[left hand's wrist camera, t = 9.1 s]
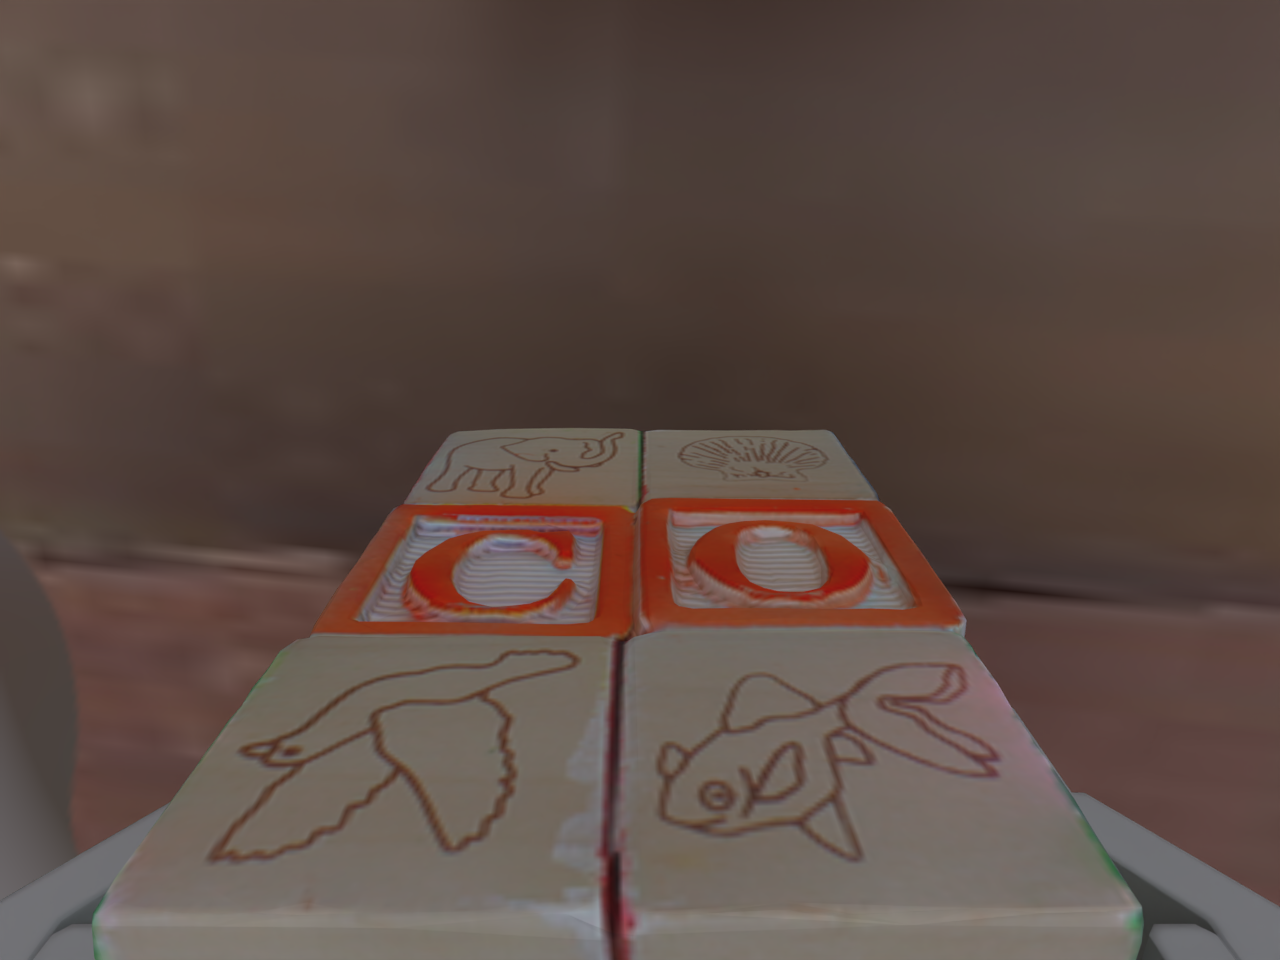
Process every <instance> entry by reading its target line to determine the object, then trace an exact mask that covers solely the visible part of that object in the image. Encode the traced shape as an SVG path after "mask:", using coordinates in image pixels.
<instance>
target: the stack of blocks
mask: <svg viewBox="0 0 1280 960" xmlns="http://www.w3.org/2000/svg"><path fill="white" fill-rule="evenodd" d="M966 621H967V620H966V619H965V617H964V615H963V613H962V612H961V610H960V608H959V606H958V604H957V603H956V602H955V600H954V599H953V597H952V596H951V594H950V593H949V592H948V590H947V589H946V587H945V586H944V585H943V583H942V582H941V580H940V579H939V577H938V576H937V575H936V573H935V572H934V570H933V569H932V567H931V566H930V564H929V563H928V561H927V560H926V558H925V557H924V555H923V554H922V552H921V551H920V550H919V548H918V547H917V546H916V544H915V543H914V542H913V540H912V539H911V538H910V536H909V535H908V533H907V532H906V531H905V529H904V528H903V527H902V525H901V524H900V522H899V521H898V520H897V518H896V517H895V515H894V514H893V512H892V511H891V509H889V508H888V507H887V506H885V505H884V504H883V503H881V502H880V501H879V498H878V495H877V493H876V492H875V490H874V489H873V487H872V486H871V484H870V483H869V482H868V480H867V479H866V478H865V477H864V475H863V474H862V473H861V471H860V470H859V468H858V466H857V465H856V463H855V462H854V461H853V460H852V458H851V457H850V456H849V455H848V454H847V452H846V451H845V449H844V448H843V446H842V445H841V443H840V442H839V440H838V439H837V437H836V436H835V435H834V433H832V432H830V431H827V430H796V431H787V430H653V431H646V432H642V431H638V430H634V429H613V428H535V429H493V430H477V431H460V432H456V433H453V434H450V435H449V436H448V437H447V439H446V440H445V441H444V443H443V444H442V445H441V446H440V448H439V449H438V450H437V452H436V453H435V455H434V456H433V457H432V459H431V460H430V461H429V463H428V464H427V465H426V467H425V468H424V470H423V472H422V474H421V476H420V477H419V479H418V481H417V482H416V484H415V485H414V486H413V487H412V490H411V492H410V494H409V495H408V497H407V498H406V500H405V501H404V504H402V505H400V506H398V507H396V508H394V509H393V510H392V511H391V512H390V514H389V515H388V516H387V518H386V519H385V521H384V522H383V524H382V526H381V527H380V529H379V531H378V532H377V534H376V535H375V536H374V537H373V539H372V540H371V541H370V543H369V544H368V546H367V548H366V549H365V551H364V552H363V554H362V555H361V557H360V558H359V560H358V562H357V563H356V564H355V566H354V567H353V568H352V570H351V571H350V572H349V574H348V575H347V576H346V578H345V579H344V580H343V582H342V583H341V584H340V586H339V587H338V588H337V590H336V592H335V593H334V595H333V596H332V598H331V600H330V601H329V603H328V604H327V606H326V607H325V609H324V611H323V612H322V614H321V615H320V617H319V619H318V620H317V622H316V623H315V625H314V627H313V630H312V632H311V635H310V637H309V638H304V639H298V640H296V641H294V642H293V643H291V644H290V645H288V646H287V647H286V648H284V649H283V650H281V651H280V652H279V653H278V655H277V656H276V658H275V659H274V661H273V662H272V664H271V665H270V667H269V668H268V669H267V671H266V672H265V673H264V674H263V675H262V677H261V678H260V679H259V680H258V682H257V683H256V684H255V685H254V687H253V688H252V690H251V691H250V693H249V695H248V696H247V698H246V700H245V701H244V703H243V705H242V706H241V707H240V708H239V709H238V711H237V712H236V713H235V714H234V715H233V716H232V717H231V719H230V720H229V721H228V722H227V724H226V725H225V727H224V728H223V729H222V731H221V732H220V734H219V735H218V737H217V738H216V740H215V741H214V742H213V743H212V745H211V746H210V747H209V748H208V750H207V751H206V753H205V754H204V756H203V757H202V759H201V760H200V762H199V763H198V765H197V766H196V767H195V769H194V770H193V772H192V773H191V774H190V776H189V777H188V779H187V780H186V781H185V783H184V784H183V785H182V787H181V788H180V790H179V791H178V792H177V794H176V795H175V796H174V798H173V799H172V801H171V802H170V803H169V805H168V806H167V808H166V809H165V810H164V812H163V813H162V814H161V816H160V817H159V819H158V820H157V821H156V823H155V824H154V826H153V827H152V828H151V830H150V831H149V832H148V834H147V835H146V837H145V838H144V839H143V841H142V842H141V844H140V845H139V846H138V848H137V849H136V850H135V852H134V853H133V854H132V856H131V857H130V858H129V860H128V861H127V862H126V864H125V865H124V866H123V868H122V869H121V870H120V872H119V873H118V874H117V876H116V877H115V879H114V881H113V882H112V884H111V885H110V887H109V889H108V890H107V892H106V893H105V895H104V896H103V898H102V900H101V901H100V903H99V904H98V906H97V908H96V909H95V911H94V912H93V918H92V936H93V948H94V958H95V960H1136V958H1137V955H1138V952H1139V949H1140V946H1141V943H1142V935H1143V927H1144V919H1143V911H1142V906H1141V904H1140V903H1139V901H1138V900H1137V898H1136V897H1135V895H1134V894H1133V892H1132V890H1131V889H1130V887H1129V886H1128V884H1127V883H1126V881H1125V880H1124V878H1123V877H1122V875H1121V874H1120V872H1119V871H1118V869H1117V867H1116V866H1115V864H1114V863H1113V861H1112V859H1111V858H1110V856H1109V855H1108V853H1107V851H1106V850H1105V848H1104V847H1103V845H1102V844H1101V842H1100V840H1099V839H1098V837H1097V836H1096V834H1095V832H1094V831H1093V829H1092V827H1091V826H1090V824H1089V822H1088V821H1087V819H1086V817H1085V816H1084V814H1083V813H1082V811H1081V809H1080V808H1079V806H1078V804H1077V803H1076V801H1075V799H1074V798H1073V796H1072V795H1071V793H1070V792H1069V791H1068V789H1067V788H1066V786H1065V785H1064V783H1063V782H1062V780H1061V779H1060V778H1059V776H1058V775H1057V773H1056V772H1055V770H1054V769H1053V767H1052V766H1051V765H1050V763H1049V762H1048V760H1047V759H1046V757H1045V756H1044V755H1043V753H1042V752H1041V750H1040V749H1039V747H1038V746H1037V745H1036V743H1035V742H1034V740H1033V739H1032V737H1031V736H1030V735H1029V733H1028V732H1027V730H1026V729H1025V727H1024V726H1023V725H1022V723H1021V722H1020V720H1019V719H1018V718H1017V716H1016V715H1015V713H1014V711H1013V709H1012V708H1011V706H1010V704H1009V703H1008V701H1007V699H1006V697H1005V696H1004V694H1003V692H1002V690H1001V689H1000V687H999V685H998V683H997V682H996V681H995V679H994V678H993V677H992V675H991V674H990V672H989V671H988V670H987V668H986V667H985V666H984V664H983V663H982V661H981V660H980V659H979V657H978V656H977V655H976V653H975V652H974V650H973V648H972V647H971V645H970V644H969V643H968V642H967V640H966V639H965V638H964V637H965V629H966Z"/></svg>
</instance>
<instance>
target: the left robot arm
mask: <svg viewBox="0 0 1280 960" xmlns="http://www.w3.org/2000/svg"><path fill="white" fill-rule="evenodd" d="M1011 708H1012V707H1011ZM1012 709H1013V708H1012ZM1013 711H1014V713H1015V715H1016V716H1017V718H1018V719H1019V720H1020V722H1021V723H1022V725H1023V726H1024V727H1025V729H1026V730H1027V732H1028V733H1029V735H1030V736H1031V737H1032V739H1033V740H1034V742H1035V743H1036V745H1037V746H1038V747H1039V749H1040V750H1041V752H1042V753H1043V755H1044V756H1045V757H1046V759H1047V760H1048V762H1049V763H1050V765H1051V766H1052V767H1053V769H1054V770H1055V772H1056V773H1057V775H1058V776H1059V778H1060V779H1061V780H1062V782H1063V783H1064V785H1065V786H1066V788H1067V789H1068V791H1069V792H1070V793H1071V795H1072V796H1073V798H1074V799H1075V801H1076V803H1077V804H1078V806H1079V808H1080V809H1081V811H1082V813H1083V814H1084V816H1085V817H1086V819H1087V821H1088V822H1089V824H1090V826H1091V827H1092V829H1093V831H1094V832H1095V834H1096V836H1097V837H1098V839H1099V840H1100V842H1101V844H1102V845H1103V847H1104V848H1105V850H1106V851H1107V853H1108V855H1109V856H1110V858H1111V859H1112V861H1113V863H1114V864H1115V866H1116V867H1117V869H1118V871H1119V872H1120V874H1121V875H1122V877H1123V878H1124V880H1125V881H1126V883H1127V884H1128V886H1129V887H1130V889H1131V890H1132V892H1133V894H1134V895H1135V897H1136V898H1137V900H1138V901H1139V903H1140V904H1141V906H1142V911H1143V919H1144V927H1143V935H1142V943H1141V946H1140V949H1139V952H1138V955H1137V958H1136V960H1280V907H1279V906H1277V905H1276V904H1274V903H1272V902H1270V901H1269V900H1267V899H1265V898H1264V897H1262V896H1260V895H1258V894H1257V893H1255V892H1253V891H1252V890H1250V889H1248V888H1246V887H1245V886H1243V885H1241V884H1240V883H1238V882H1236V881H1234V880H1233V879H1231V878H1229V877H1228V876H1226V875H1224V874H1222V873H1221V872H1219V871H1217V870H1216V869H1214V868H1212V867H1211V866H1209V865H1207V864H1205V863H1204V862H1202V861H1200V860H1199V859H1197V858H1195V857H1193V856H1192V855H1190V854H1188V853H1187V852H1185V851H1183V850H1181V849H1180V848H1178V847H1176V846H1175V845H1173V844H1171V843H1169V842H1168V841H1166V840H1164V839H1163V838H1161V837H1159V836H1157V835H1156V834H1154V833H1152V832H1151V831H1149V830H1147V829H1146V828H1144V827H1142V826H1140V825H1139V824H1137V823H1135V822H1134V821H1132V820H1130V819H1128V818H1127V817H1125V816H1123V815H1122V814H1120V813H1118V812H1116V811H1115V810H1113V809H1111V808H1110V807H1108V806H1106V805H1104V804H1103V803H1101V802H1099V801H1098V800H1096V799H1094V798H1093V797H1091V796H1089V795H1087V794H1086V793H1072V792H1071V791H1070V789H1069V788H1068V786H1067V785H1066V784H1065V782H1064V781H1063V779H1062V778H1061V776H1060V775H1059V773H1058V772H1057V771H1056V769H1055V768H1054V766H1053V765H1052V763H1051V762H1050V760H1049V759H1048V758H1047V756H1046V755H1045V753H1044V752H1043V750H1042V749H1041V747H1040V746H1039V745H1038V743H1037V742H1036V740H1035V739H1034V737H1033V736H1032V734H1031V733H1030V732H1029V730H1028V729H1027V727H1026V726H1025V724H1024V723H1023V721H1022V720H1021V719H1020V717H1019V716H1018V714H1017V713H1016V711H1015V710H1014V709H1013ZM168 805H169V803H168V804H166V805H164V806H163V807H161V808H159V809H157V810H156V811H154V812H152V813H151V814H149V815H147V816H145V817H144V818H142V819H140V820H138V821H137V822H135V823H133V824H132V825H130V826H128V827H126V828H125V829H123V830H121V831H119V832H118V833H116V834H114V835H112V836H111V837H109V838H107V839H106V840H104V841H102V842H100V843H99V844H97V845H95V846H93V847H92V848H90V849H88V850H86V851H85V852H83V853H81V854H80V855H78V856H76V857H74V858H73V859H71V860H69V861H67V862H66V863H64V864H62V865H60V866H59V867H57V868H55V869H54V870H52V871H50V872H48V873H47V874H45V875H43V876H41V877H40V878H38V879H36V880H35V881H33V882H31V883H29V884H28V885H26V886H24V887H22V888H21V889H19V890H17V891H15V892H14V893H12V894H10V895H9V896H7V897H5V898H3V899H2V900H0V960H95V958H94V948H93V936H92V918H93V912H94V911H95V909H96V908H97V906H98V904H99V903H100V901H101V900H102V898H103V896H104V895H105V893H106V892H107V890H108V889H109V887H110V885H111V884H112V882H113V881H114V879H115V877H116V876H117V874H118V873H119V872H120V870H121V869H122V868H123V866H124V865H125V864H126V862H127V861H128V860H129V858H130V857H131V856H132V854H133V853H134V852H135V850H136V849H137V848H138V846H139V845H140V844H141V842H142V841H143V839H144V838H145V837H146V835H147V834H148V832H149V831H150V830H151V828H152V827H153V826H154V824H155V823H156V821H157V820H158V819H159V817H160V816H161V814H162V813H163V812H164V810H165V809H166V808H167V806H168Z"/></svg>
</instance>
